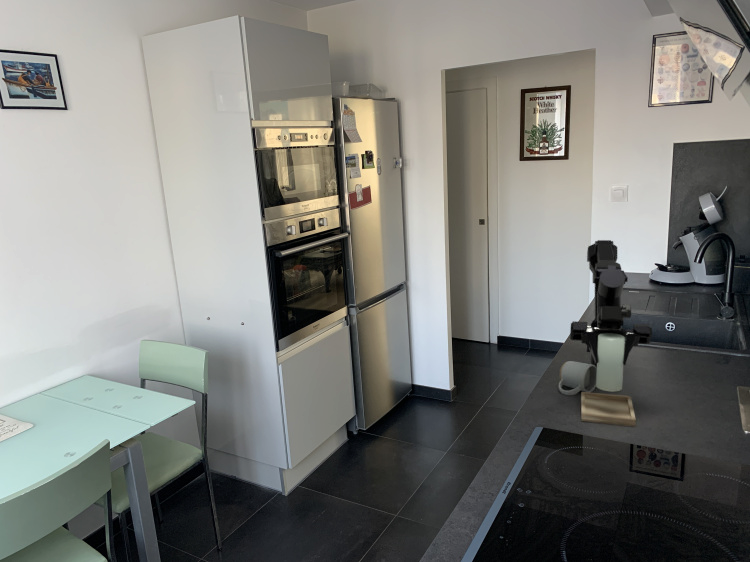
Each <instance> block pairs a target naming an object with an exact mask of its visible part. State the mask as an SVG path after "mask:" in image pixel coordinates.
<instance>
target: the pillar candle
mask: <svg viewBox="0 0 750 562" xmlns="http://www.w3.org/2000/svg"><path fill="white" fill-rule="evenodd" d="M625 341H626V337H624V336H622V335H619V334H614V333H603V334H600V335H598V353H597V355H598V363H597V376H596V386H595V388H597V389H599V390H601V391H606V392H614V393H615V392H619V391H621V390H622V389H623V377H624V364H623V362H624V347H625Z"/></svg>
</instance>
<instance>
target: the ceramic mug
mask: <svg viewBox="0 0 750 562" xmlns="http://www.w3.org/2000/svg"><path fill="white" fill-rule="evenodd" d="M596 376H597V368H596V366H595V365H592V364H590V363H584V362H580V361H579V362H578V361H573V360H572V361H571V360H568V361H565V362H564V363H563V364H562V365H561V367H560V369H559V380H560V381H559V382H558V390H559V392H560V393H561V394H562V395H566V396H573V395H576V394H578V393H580V391H581V392H589V393H592V392H593V391H594V390H595V388H596ZM563 386H566V387H568V388H571V389H570V390H564V389H563V388H562V387H563Z"/></svg>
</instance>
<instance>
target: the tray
mask: <svg viewBox="0 0 750 562" xmlns="http://www.w3.org/2000/svg"><path fill="white" fill-rule="evenodd" d="M580 394H581V395H580V407H581V408H580V409H581V410H580V413H581V417H580V419H581V422H585V423H594V424H605V425H615V426H620V427H621V426H623V427H624V426H625V427H631V428H632V427H633V428H635V427H636V426H637V425H636V421H637V419H636V416H635V415H636V414H635V410H634V405H633V401H632V397H631V395H621V394H609V393H597V392H583V391H581V393H580Z"/></svg>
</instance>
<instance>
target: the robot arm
mask: <svg viewBox="0 0 750 562" xmlns="http://www.w3.org/2000/svg"><path fill="white" fill-rule="evenodd" d="M586 252H587V253H586V255H587V256H586V262H588V263H589V264H588V266H589V267H588V268H589V270H590V272H591V273H592V284H594V319H593V320H592V322H591V323H590V324H589V325H588V322H587V321H573V320H572V322H570V329H569V331H570V332H569V335H570V336H569V337H570V340H571V341H580V342H581V343H582V344H585V350H586V353H590V356H589V357H590V362H589V364H592V365H595V366H596V368H597V363H598V355H597V353H598V335H600V334H603V333H614V334H619V335H622V336H624V337H625V344H624V362H623V366H626V364H627V361H628V358H629V355H630V353H631V351H632V349H633V348H634V347H638V345H639V344H640V345H648V344H650V343H651V340H652V336H653V328H652V326H651V325H650V324H645V323H644V324H642V323H641V324H639V323H634V324H633V327H632V328H623V326H624V319H630V318H632V305H631V304H626V303H625V304H622V302H621V299H622V297H621V295H622V294H623V290H624V285H625V284H626V283H628V282H629V281H628V278H629V277H628V276H627V275H626V273H625V271H624V270H623V269H622V266H621V264H620V263H619V262H617V260H618V246H617V245H615V243H614V241H613V240H609V239H608V240H607V239H606V240H605V239H601V240H600V239H598V240H595V241H594V243H592V244H591V245H588V247H587V251H586Z"/></svg>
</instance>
